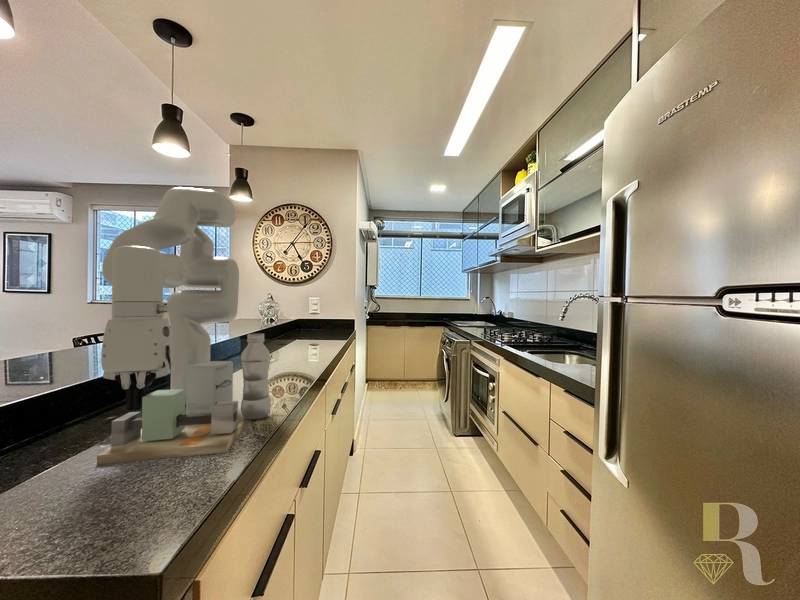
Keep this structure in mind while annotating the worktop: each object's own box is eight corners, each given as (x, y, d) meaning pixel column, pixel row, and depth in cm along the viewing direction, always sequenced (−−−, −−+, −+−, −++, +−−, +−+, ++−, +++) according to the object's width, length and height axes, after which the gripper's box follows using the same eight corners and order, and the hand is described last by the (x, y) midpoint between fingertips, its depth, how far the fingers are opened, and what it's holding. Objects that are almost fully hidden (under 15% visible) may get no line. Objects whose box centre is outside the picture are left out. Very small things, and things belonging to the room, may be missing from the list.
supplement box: (213, 419, 74) (213, 365, 75) (185, 418, 75) (185, 365, 76) (233, 409, 82) (233, 360, 82) (207, 408, 83) (207, 360, 83)
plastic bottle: (260, 423, 71) (260, 335, 72) (233, 421, 73) (234, 335, 73) (276, 414, 78) (276, 333, 78) (252, 412, 79) (252, 332, 79)
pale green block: (156, 430, 62) (157, 390, 63) (185, 428, 64) (185, 388, 64) (141, 441, 58) (142, 397, 58) (172, 438, 59) (172, 395, 59)
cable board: (139, 436, 65) (140, 401, 65) (244, 427, 69) (244, 395, 69) (96, 464, 53) (97, 422, 53) (225, 452, 57) (225, 413, 57)
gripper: (190, 311, 65) (190, 400, 65) (107, 312, 62) (106, 405, 62) (171, 311, 58) (170, 411, 57) (76, 312, 55) (74, 418, 55)
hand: (137, 408), depth 60 cm, fingers closed
